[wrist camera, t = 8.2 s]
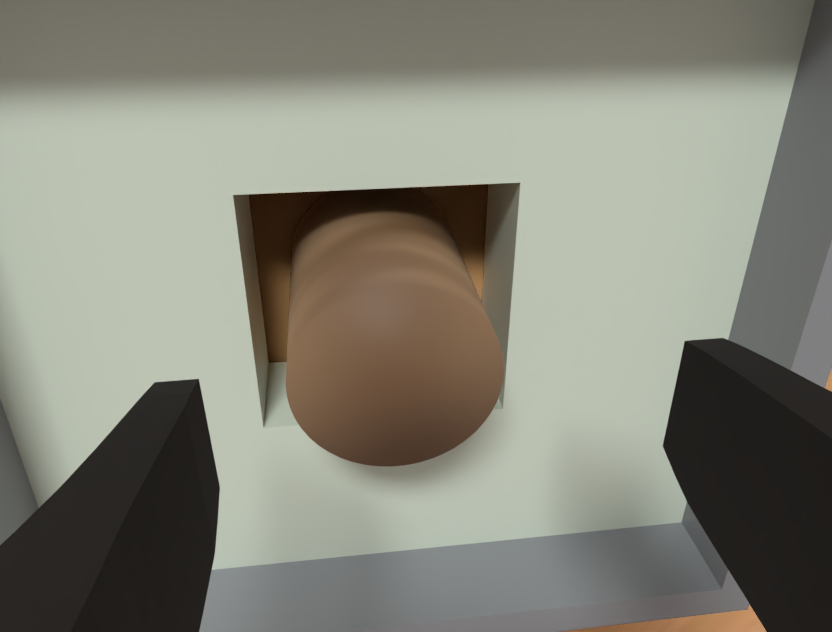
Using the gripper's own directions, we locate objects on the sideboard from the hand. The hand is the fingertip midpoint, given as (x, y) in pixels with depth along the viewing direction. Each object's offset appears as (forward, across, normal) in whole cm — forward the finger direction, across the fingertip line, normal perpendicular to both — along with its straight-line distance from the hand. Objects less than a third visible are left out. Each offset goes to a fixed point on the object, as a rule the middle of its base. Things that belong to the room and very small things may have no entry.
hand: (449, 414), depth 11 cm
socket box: (+9, 0, +2) cm, 9 cm away
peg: (+9, 0, +2) cm, 10 cm away
